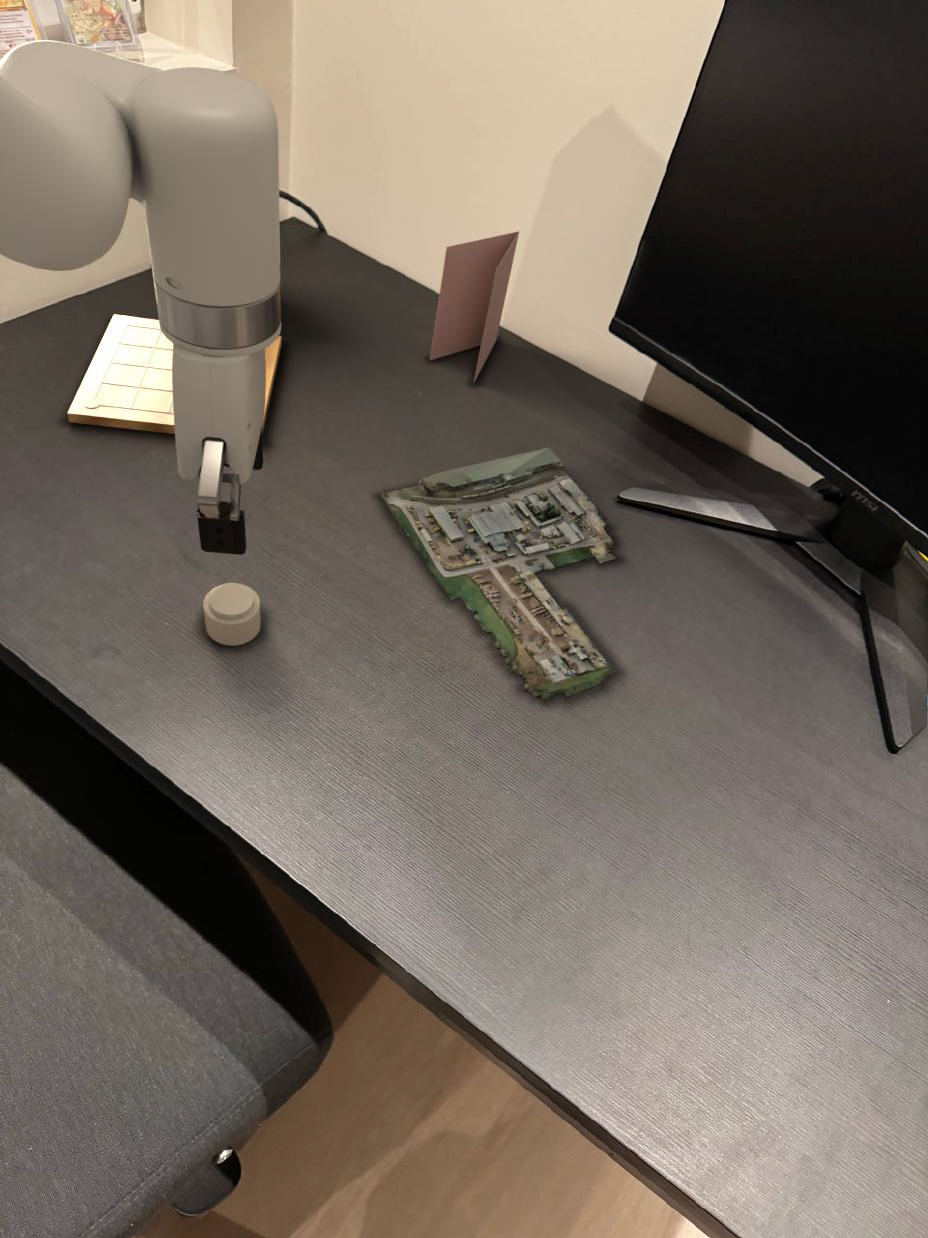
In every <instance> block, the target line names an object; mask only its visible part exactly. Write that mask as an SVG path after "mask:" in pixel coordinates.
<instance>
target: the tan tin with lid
mask: <svg viewBox="0 0 928 1238" xmlns="http://www.w3.org/2000/svg"><path fill="white" fill-rule="evenodd" d="M202 607H203V616H204V617H203V618H204V625H205V631H206V634H207V635H208V637H210V639H212V640H213V641H214V642H216V643H218V644H221V645H224V646H231V647H232V646H234V647H235V646H240V645H244V644H246V643H248V642H251V641H253V639H255V638H256V637H257V635H258V634H259V632H260V630H261V625H262V622H261V621H262V618H261V617H262V616H261V600H260V597H259V595H258V593H257V592H256V591H255V590H254V589H253V588H251V587H249V586H247V585H245V584H241V583H238V582H226V583H223V584H221V585H217V586H215V587H213V588H212V589H211V590H210V591H209V592H207V594H206V595H205V597H204V598H203V604H202Z"/></svg>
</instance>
